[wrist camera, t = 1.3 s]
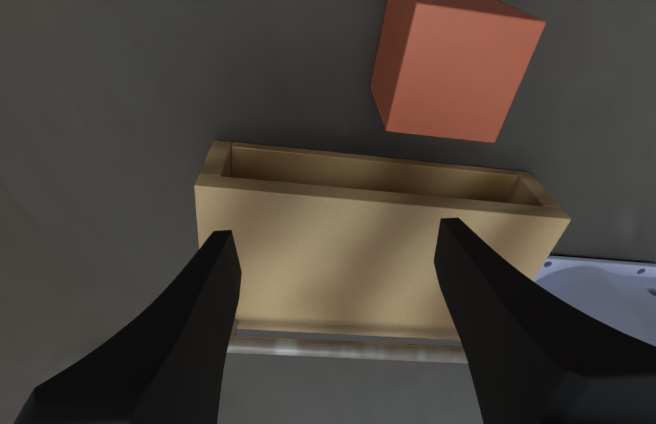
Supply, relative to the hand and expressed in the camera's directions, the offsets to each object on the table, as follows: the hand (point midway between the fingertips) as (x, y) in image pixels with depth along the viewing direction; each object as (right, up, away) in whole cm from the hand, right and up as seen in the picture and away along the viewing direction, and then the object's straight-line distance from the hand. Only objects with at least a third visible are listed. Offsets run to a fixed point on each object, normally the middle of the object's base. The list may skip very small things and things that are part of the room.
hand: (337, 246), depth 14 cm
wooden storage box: (+2, 0, +11) cm, 11 cm away
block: (+4, +9, +5) cm, 11 cm away
